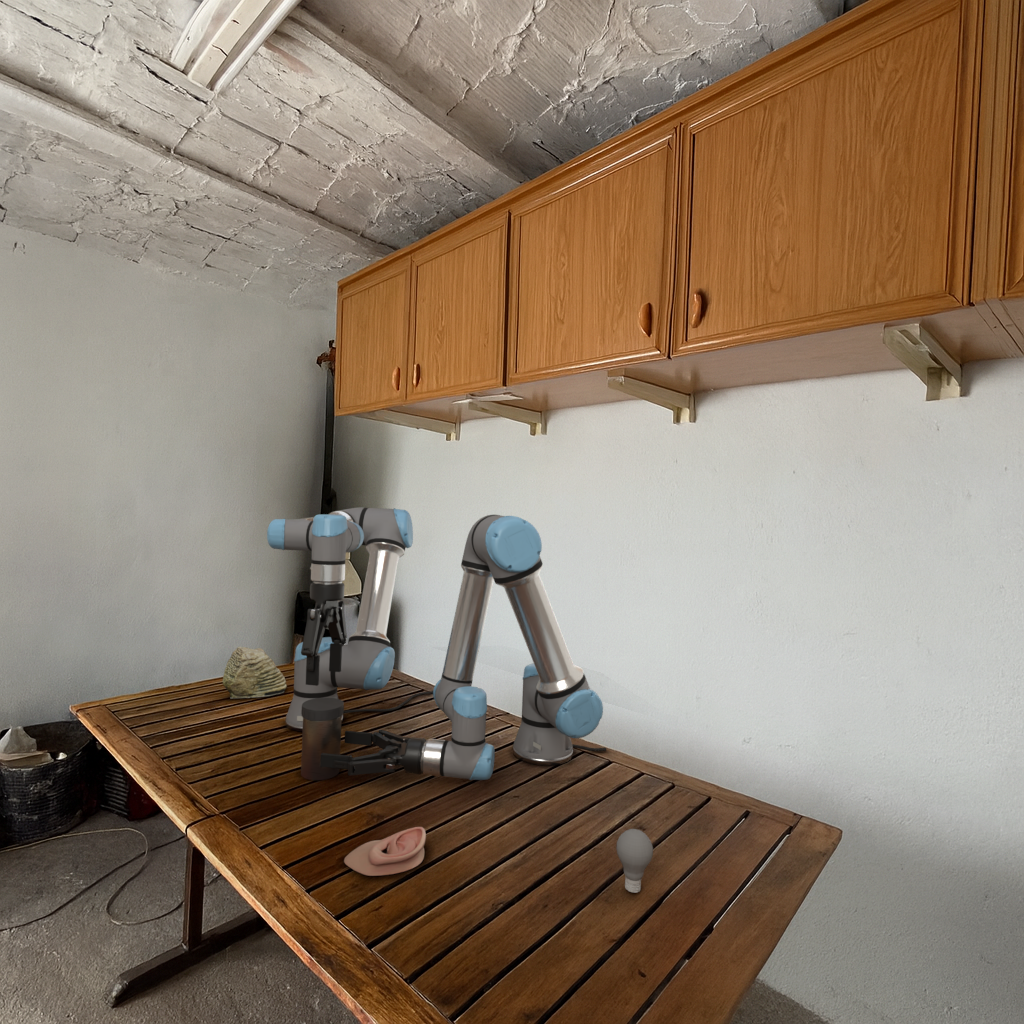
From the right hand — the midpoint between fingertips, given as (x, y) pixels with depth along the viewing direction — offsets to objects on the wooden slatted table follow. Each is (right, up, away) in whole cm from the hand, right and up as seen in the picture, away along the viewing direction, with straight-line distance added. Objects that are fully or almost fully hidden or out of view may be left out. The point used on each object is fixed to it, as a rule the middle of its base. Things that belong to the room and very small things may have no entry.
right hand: (333, 747), depth 144 cm
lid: (-3, +9, +1) cm, 10 cm away
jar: (-4, -6, +2) cm, 7 cm away
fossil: (-40, -4, +54) cm, 68 cm away
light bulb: (+61, -10, -38) cm, 72 cm away
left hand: (-3, +16, +1) cm, 16 cm away
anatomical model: (+18, -8, -32) cm, 38 cm away
